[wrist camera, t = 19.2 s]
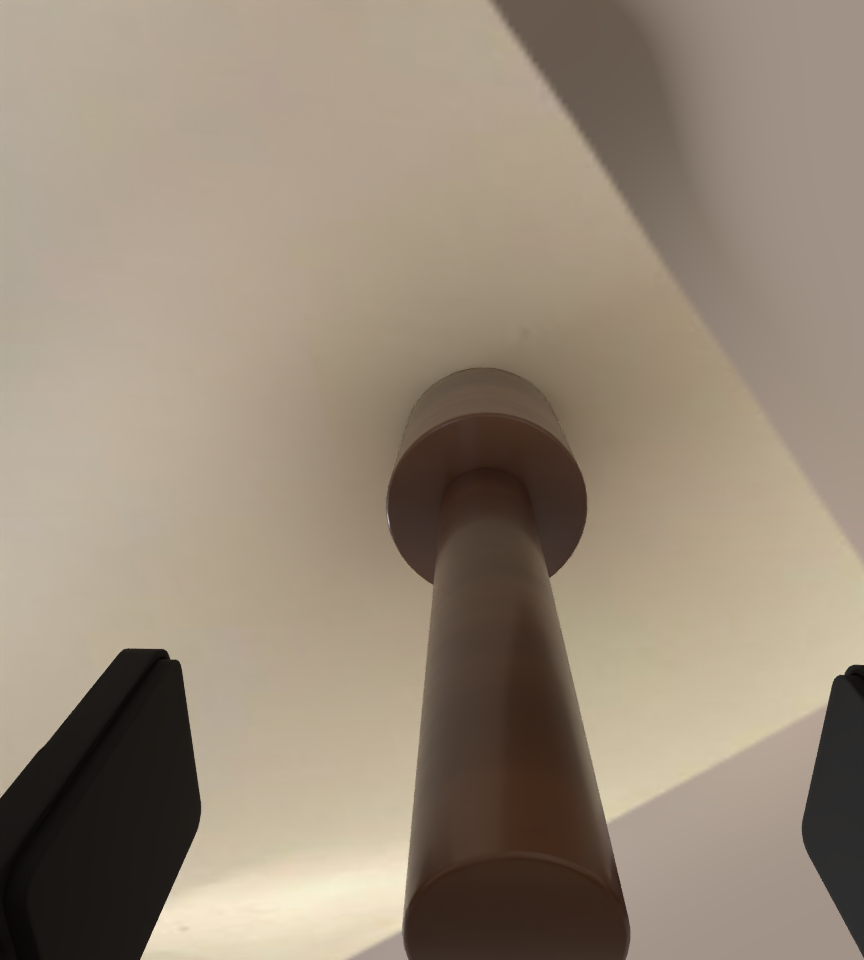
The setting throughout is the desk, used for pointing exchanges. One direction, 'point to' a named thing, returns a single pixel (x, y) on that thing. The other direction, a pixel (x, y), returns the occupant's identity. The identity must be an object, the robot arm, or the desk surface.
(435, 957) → the pestle
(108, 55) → the desk surface
